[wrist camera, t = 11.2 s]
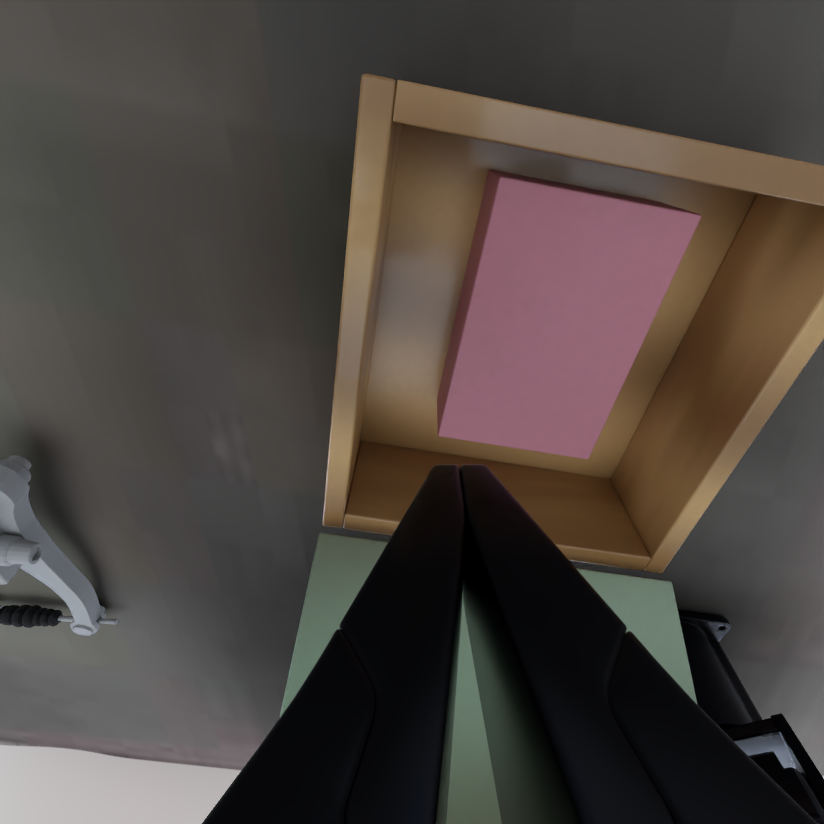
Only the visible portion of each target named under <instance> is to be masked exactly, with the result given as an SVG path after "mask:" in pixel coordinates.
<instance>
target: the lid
mask: <svg viewBox="0 0 824 824" xmlns="http://www.w3.org/2000/svg"><path fill="white" fill-rule="evenodd" d="M387 543H388V542H385V541H378V540H371V539H364V538H357V537H349V536H342V535H335V534H328V533H320V534H319V536H318V540H317V545H316V550H315V554H314V559H313V564H312V568H311V573H310V578H309V582H308V587H307V592H306V596H305V601H304V606H303V610H302V615H301V620H300V624H299V629H298V634H297V638H296V643H295V648H294V652H293V657H292V662H291V666H290V671H289V676H288V680H287V685H286V690H285V694H284V699H283V704H282V708H281V713H280V717H281V716H282V714H283V713H284V711H285V710H286V709H287V707H288V706H289V704H290V703H291V702H292V700H293V699H294V697H295V696H296V694H297V693H298V691H299V690H300V688H301V686H302V685H303V683H304V682H305V680H306V678H307V677H308V675H309V674H310V672H311V671H312V669H313V667H314V666H315V664H316V663H317V661H318V659H319V658H320V656H321V655H322V653H323V651H324V650H325V648H326V646H327V644H328V643H329V641H330V639H331V638H332V636H333V634H334V633H335V631H336V630H337V629H340V627H339V626H340V623H341V621H342V620H343V618H344V616H345V614H346V613H347V611H348V609H349V608H350V606H351V604H352V603H353V601H354V599H355V597H356V596H357V594H358V592H359V591H360V589H361V587H362V586H363V584H364V582H365V581H366V579H367V577H368V575H369V574H370V572H371V570H372V569H373V567H374V565H375V564H376V562H377V560H378V558H379V557H380V555H381V553H382V552H383V550H384V548H385V547H386V545H387ZM576 569H577V570H578V571H579V572H580V573H581V575H582V576H583V577H584V578H585V579H586V580H587V581H588V583H589V584H590V585H591V586H592V587H593V588H594V589H595V591H596V592H597V593H598V594H599V595H600V596H601V597H602V599H603V600H604V601H605V602H606V603H607V604H608V605H609V607H610V608H611V609H612V610H613V611H614V612H615V614H616V615H617V616H618V617H619V618H620V619H621V620H622V622H623V623H624V624H625V625H626V627H627V630H626V632H628V631H631V632H632V633H633V634H634V635H635V636H636V637H637V638H638V640H639V641H640V642H641V643H642V644H643V645H644V647H645V648H646V649H647V650H648V651H649V652H650V653H651V655H652V656H653V657H654V658H655V659H656V660H657V661H658V662H659V663H660V665H661V666H662V667H663V668H664V669H665V670H666V671H667V672H668V673H669V674H670V675H671V677H672V678H673V679H674V680H675V681H676V682H677V683H678V684H679V685H680V686H681V688H682V689H683V690H684V691H685V692H686V693H687V694H688V695H689V696H690V697H691V698H692V700H693V701H694V702H695V703H696V704H697V700H696V695H695V690H694V686H693V681H692V676H691V671H690V667H689V662H688V657H687V652H686V647H685V643H684V638H683V633H682V628H681V624H680V619H679V614H678V609H677V604H676V600H675V595H674V590H673V585H672V582H670V581H663V580H656V579H649V578H642V577H635V576H628V575H621V574H613V573H606V572H599V571H592V570H585V569H578V568H576ZM279 719H280V718H279ZM446 824H502V822H501V816H500V810H499V805H498V799H497V793H496V788H495V782H494V776H493V770H492V765H491V759H490V753H489V748H488V742H487V736H486V730H485V725H484V719H483V713H482V708H481V702H480V696H479V690H478V685H477V679H476V673H475V668H474V662H473V656H472V650H471V645H470V639H469V633H468V628H467V622H466V616H465V609H464V602H463V593H462V617H461V631H460V644H459V658H458V672H457V685H456V699H455V713H454V726H453V740H452V754H451V768H450V781H449V795H448V809H447V822H446Z"/></svg>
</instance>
